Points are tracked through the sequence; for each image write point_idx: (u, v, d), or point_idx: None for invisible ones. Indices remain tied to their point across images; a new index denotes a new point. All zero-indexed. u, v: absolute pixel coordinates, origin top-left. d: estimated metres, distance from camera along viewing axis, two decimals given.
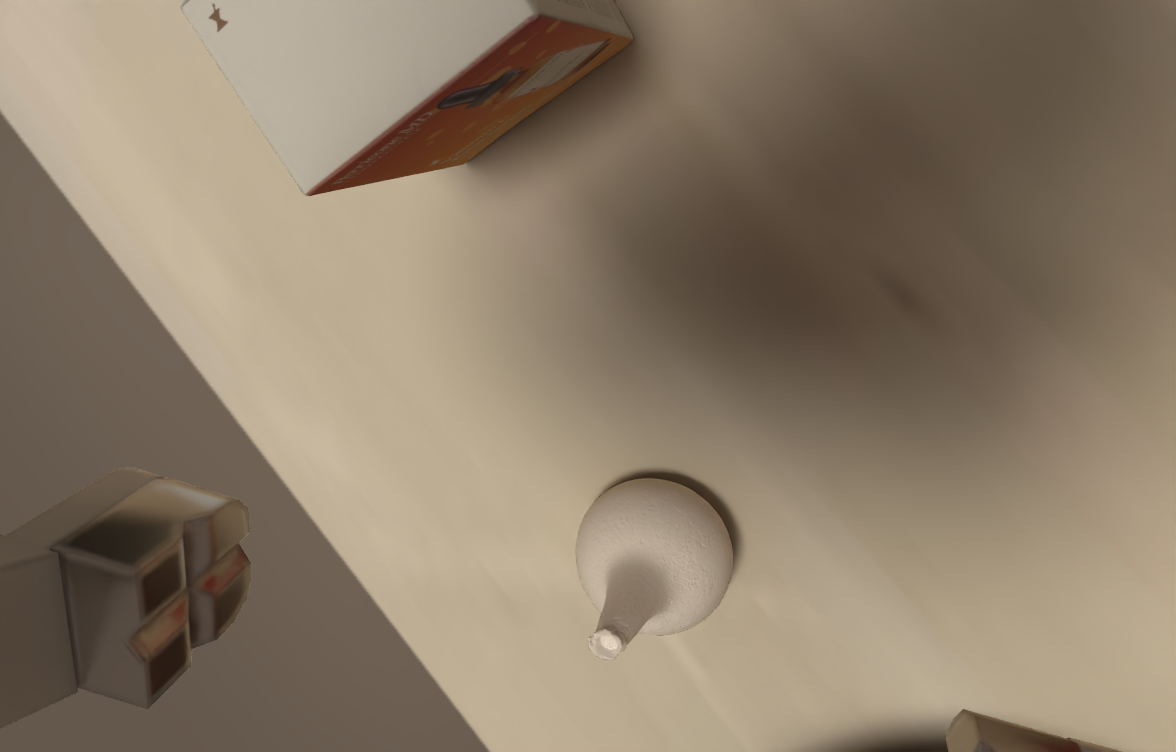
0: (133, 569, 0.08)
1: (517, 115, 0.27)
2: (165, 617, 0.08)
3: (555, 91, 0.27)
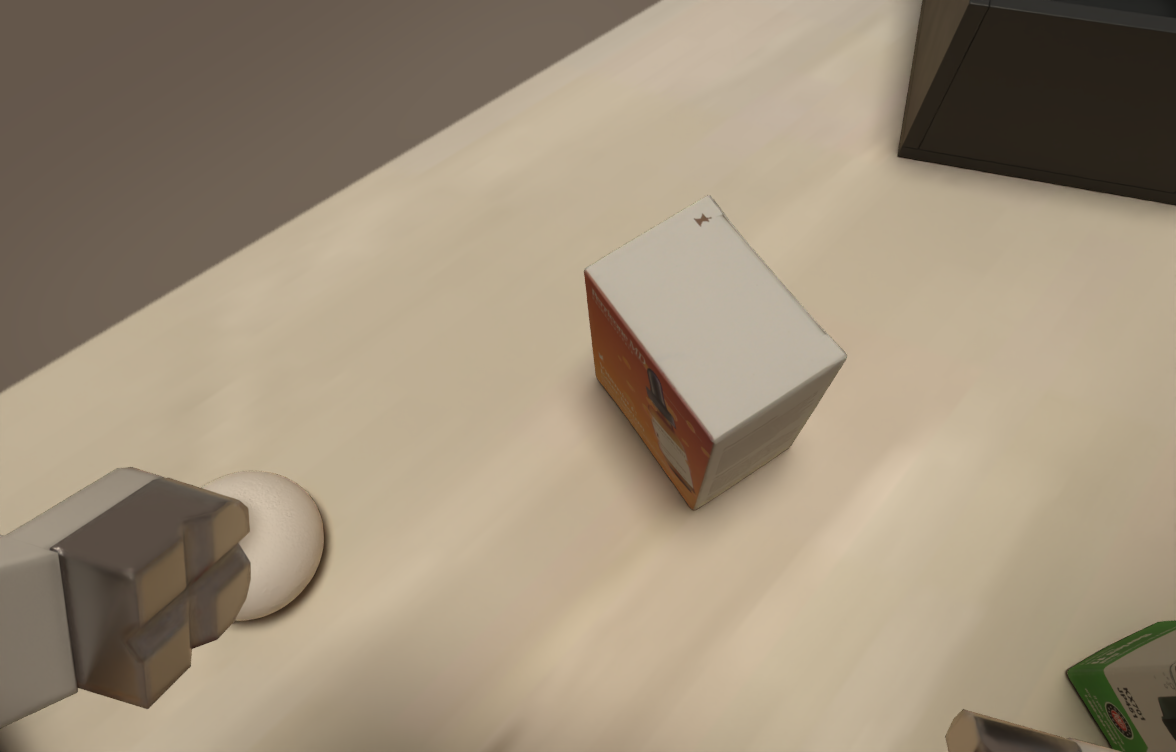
0: (133, 569, 0.08)
1: (635, 420, 0.35)
2: (165, 617, 0.08)
3: (654, 450, 0.35)
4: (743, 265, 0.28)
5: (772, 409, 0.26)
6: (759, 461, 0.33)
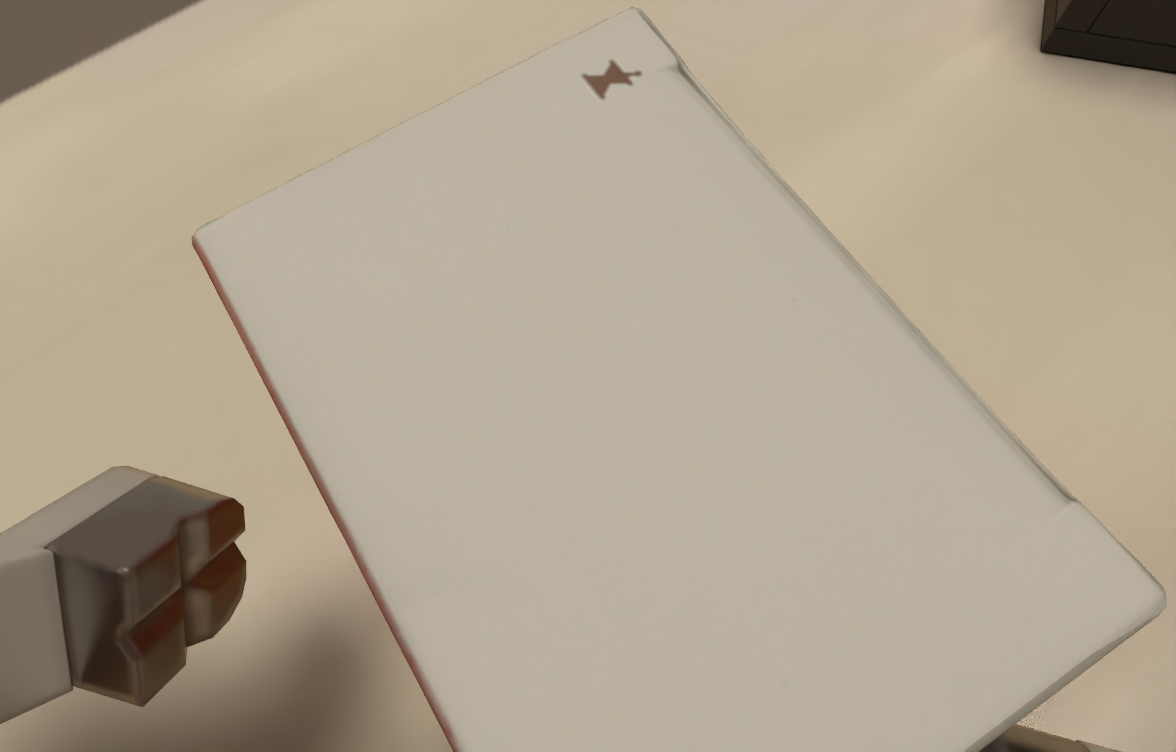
0: (127, 568, 0.08)
1: None
2: (160, 615, 0.08)
3: None
4: (745, 228, 0.08)
5: None
6: None
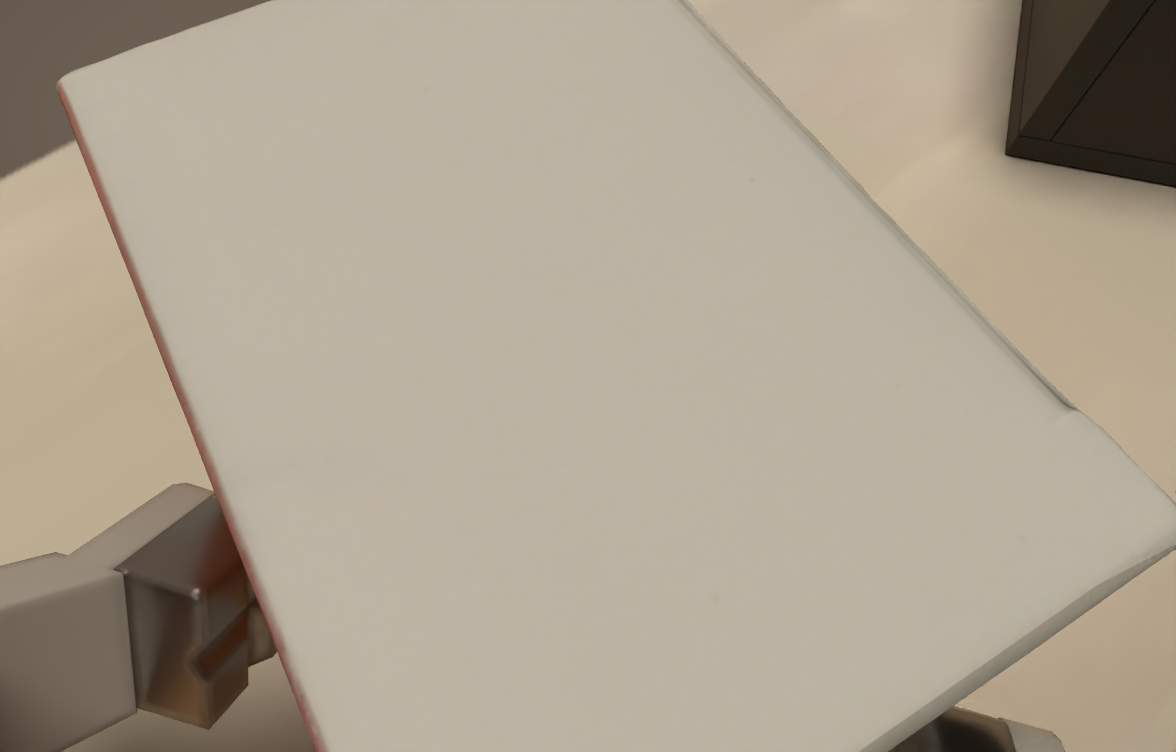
0: (200, 590, 0.08)
1: None
2: (226, 636, 0.08)
3: None
4: (699, 105, 0.07)
5: None
6: None
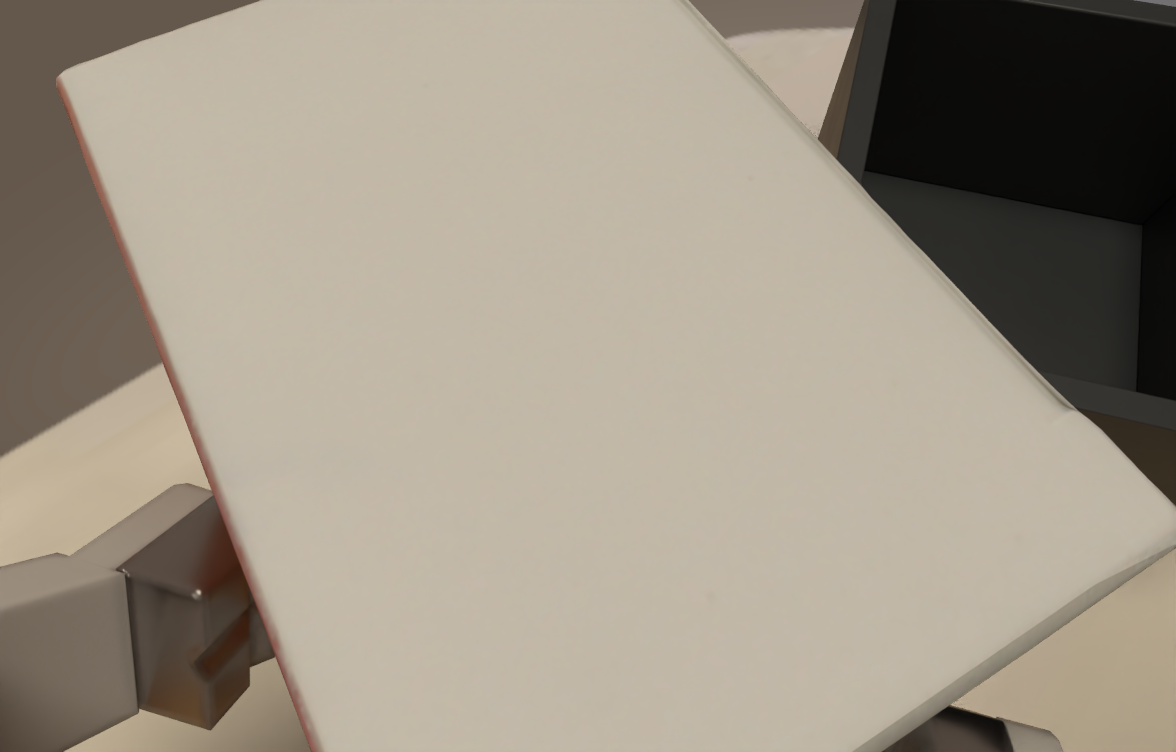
0: (201, 591, 0.08)
1: None
2: (227, 637, 0.08)
3: None
4: (698, 104, 0.07)
5: None
6: None
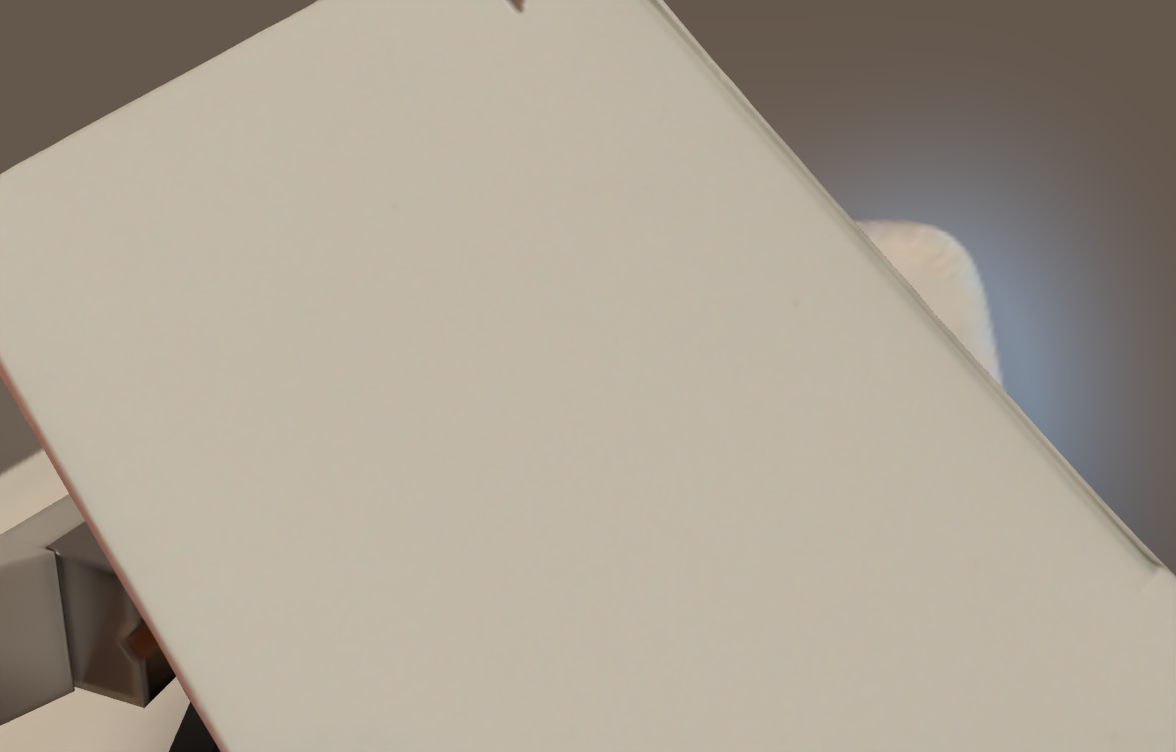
0: None
1: None
2: None
3: None
4: (725, 201, 0.06)
5: None
6: None
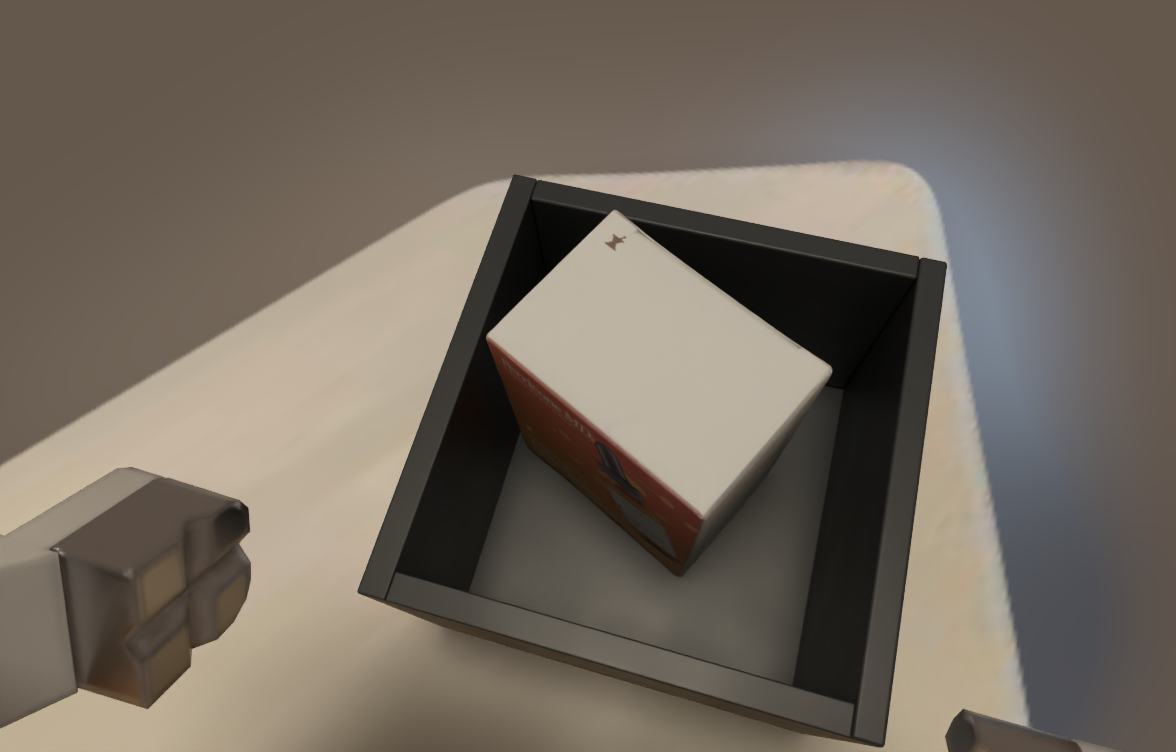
0: (134, 571, 0.08)
1: (587, 490, 0.29)
2: (165, 617, 0.08)
3: (617, 519, 0.29)
4: (679, 286, 0.22)
5: (761, 457, 0.21)
6: (742, 503, 0.28)
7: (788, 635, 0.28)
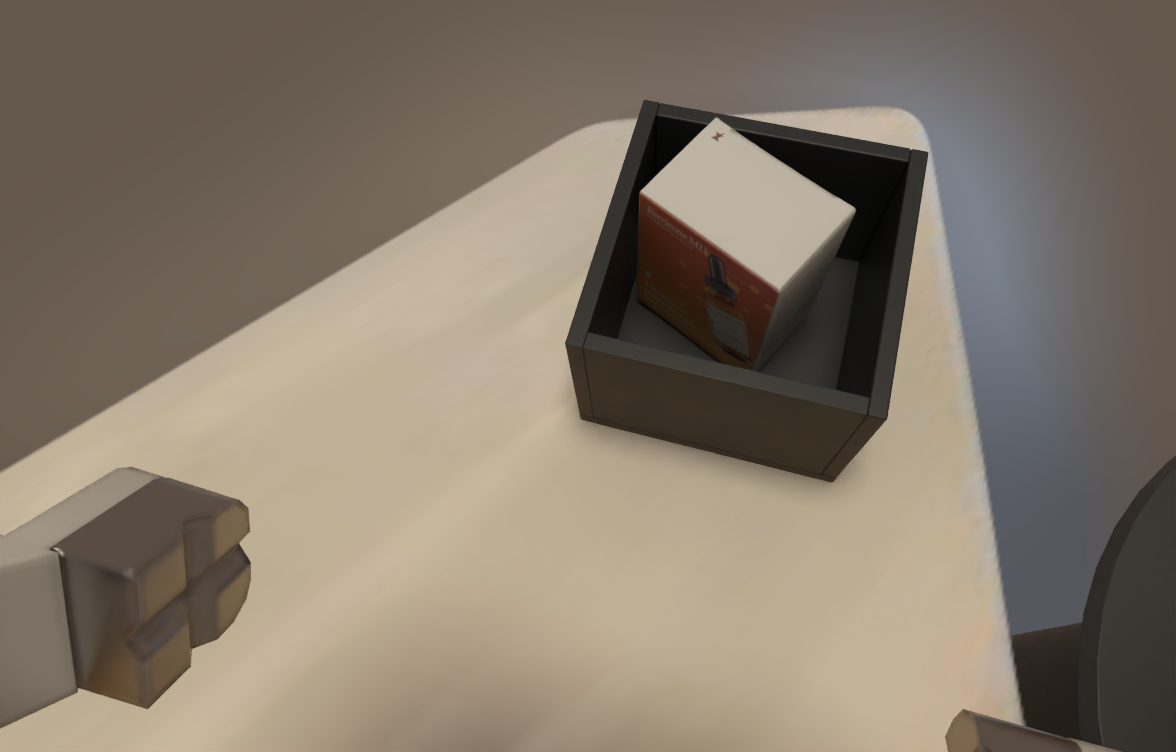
0: (133, 569, 0.08)
1: (684, 321, 0.42)
2: (165, 617, 0.08)
3: (704, 342, 0.42)
4: (759, 162, 0.35)
5: (812, 260, 0.34)
6: (791, 327, 0.41)
7: None
